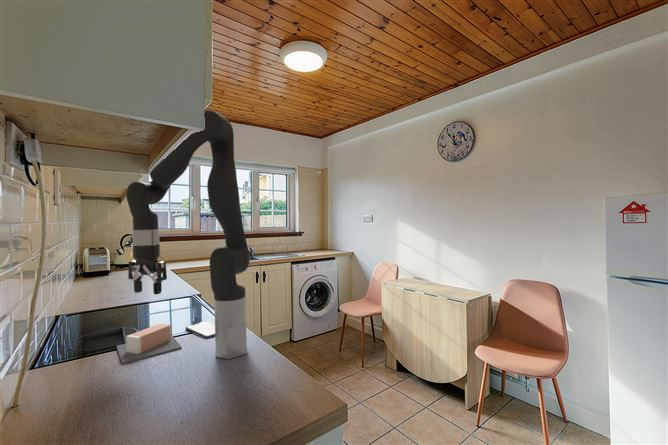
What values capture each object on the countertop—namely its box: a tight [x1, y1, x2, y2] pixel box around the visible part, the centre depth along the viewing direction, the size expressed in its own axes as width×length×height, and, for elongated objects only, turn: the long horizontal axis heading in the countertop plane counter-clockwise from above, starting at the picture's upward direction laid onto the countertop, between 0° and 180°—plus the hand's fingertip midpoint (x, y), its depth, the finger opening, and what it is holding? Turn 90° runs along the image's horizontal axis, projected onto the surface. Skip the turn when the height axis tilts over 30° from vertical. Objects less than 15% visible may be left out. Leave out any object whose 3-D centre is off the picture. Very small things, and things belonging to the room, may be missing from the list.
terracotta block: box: [125, 323, 172, 354], centre depth 101 cm, size 5×5×12 cm
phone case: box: [185, 320, 215, 339], centre depth 115 cm, size 9×2×16 cm
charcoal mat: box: [116, 334, 183, 365], centre depth 101 cm, size 16×16×1 cm
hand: (147, 293), depth 100 cm, fingers open, 8 cm apart
